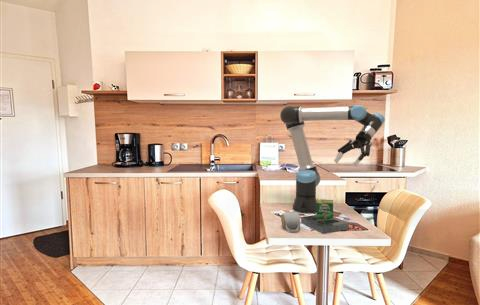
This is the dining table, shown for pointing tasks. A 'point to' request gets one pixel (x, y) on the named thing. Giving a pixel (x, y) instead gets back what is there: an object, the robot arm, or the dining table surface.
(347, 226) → the housing
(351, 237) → the dining table surface
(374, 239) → the dining table surface
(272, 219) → the dining table surface
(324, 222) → the coffee box
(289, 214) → the ceramic mug
